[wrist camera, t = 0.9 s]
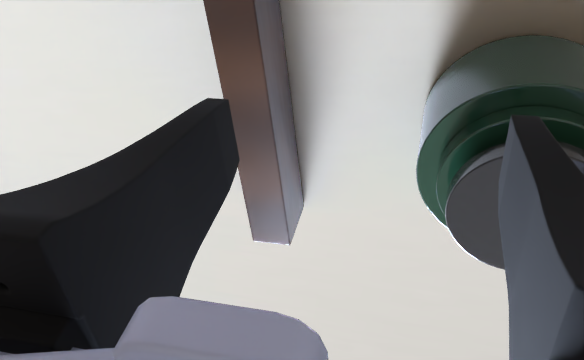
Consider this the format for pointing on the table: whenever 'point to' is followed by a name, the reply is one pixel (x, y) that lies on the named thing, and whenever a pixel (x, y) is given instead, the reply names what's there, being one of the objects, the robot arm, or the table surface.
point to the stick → (259, 112)
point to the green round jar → (494, 129)
